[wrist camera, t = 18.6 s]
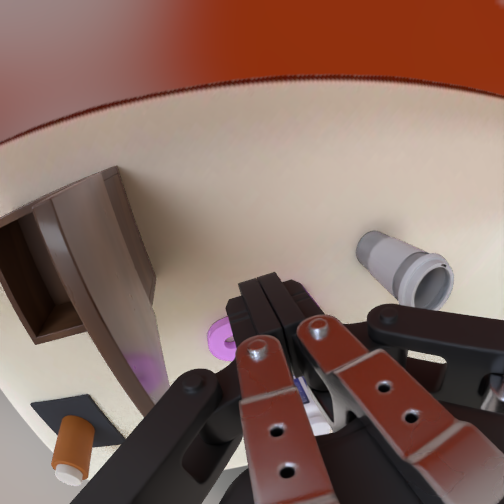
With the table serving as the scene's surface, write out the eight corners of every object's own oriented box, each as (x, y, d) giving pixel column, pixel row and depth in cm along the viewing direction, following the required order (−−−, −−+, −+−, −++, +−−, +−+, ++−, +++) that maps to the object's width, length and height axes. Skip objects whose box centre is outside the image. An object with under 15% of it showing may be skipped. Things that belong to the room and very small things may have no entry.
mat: (71, 447, 40) (71, 449, 39) (30, 402, 35) (30, 404, 35) (127, 441, 41) (127, 443, 40) (88, 394, 36) (87, 396, 36)
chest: (55, 309, 31) (35, 345, 25) (12, 211, 26) (-22, 230, 20) (156, 278, 33) (151, 313, 26) (117, 165, 28) (97, 173, 21)
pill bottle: (268, 398, 43) (286, 450, 33) (274, 370, 41) (297, 423, 32) (304, 394, 44) (327, 443, 35) (313, 367, 42) (341, 416, 33)
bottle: (74, 437, 38) (65, 488, 29) (55, 416, 36) (41, 469, 26) (101, 434, 39) (94, 488, 29) (82, 413, 37) (71, 469, 27)
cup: (400, 229, 37) (465, 264, 26) (383, 276, 39) (440, 322, 28) (357, 217, 35) (423, 252, 24) (340, 269, 37) (395, 320, 26)
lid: (172, 452, 13) (186, 448, 13) (30, 206, 8) (50, 197, 8) (147, 317, 25) (155, 314, 26) (91, 175, 21) (101, 172, 21)
